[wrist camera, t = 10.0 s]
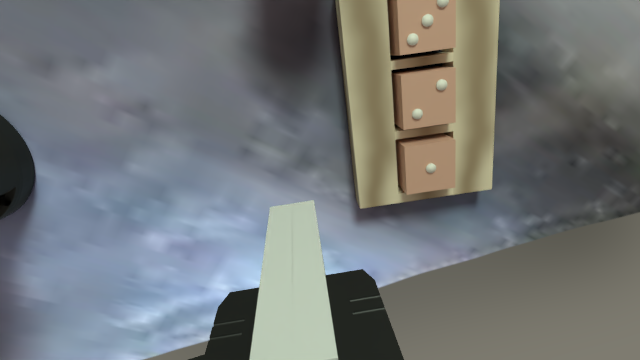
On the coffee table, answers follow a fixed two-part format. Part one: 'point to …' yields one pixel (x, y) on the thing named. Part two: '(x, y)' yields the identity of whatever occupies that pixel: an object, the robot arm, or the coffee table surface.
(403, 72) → the tile two pips
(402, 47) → the tile three pips
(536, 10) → the coffee table surface
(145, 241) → the coffee table surface
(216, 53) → the coffee table surface
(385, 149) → the board
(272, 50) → the coffee table surface
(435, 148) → the tile one pip
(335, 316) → the robot arm
